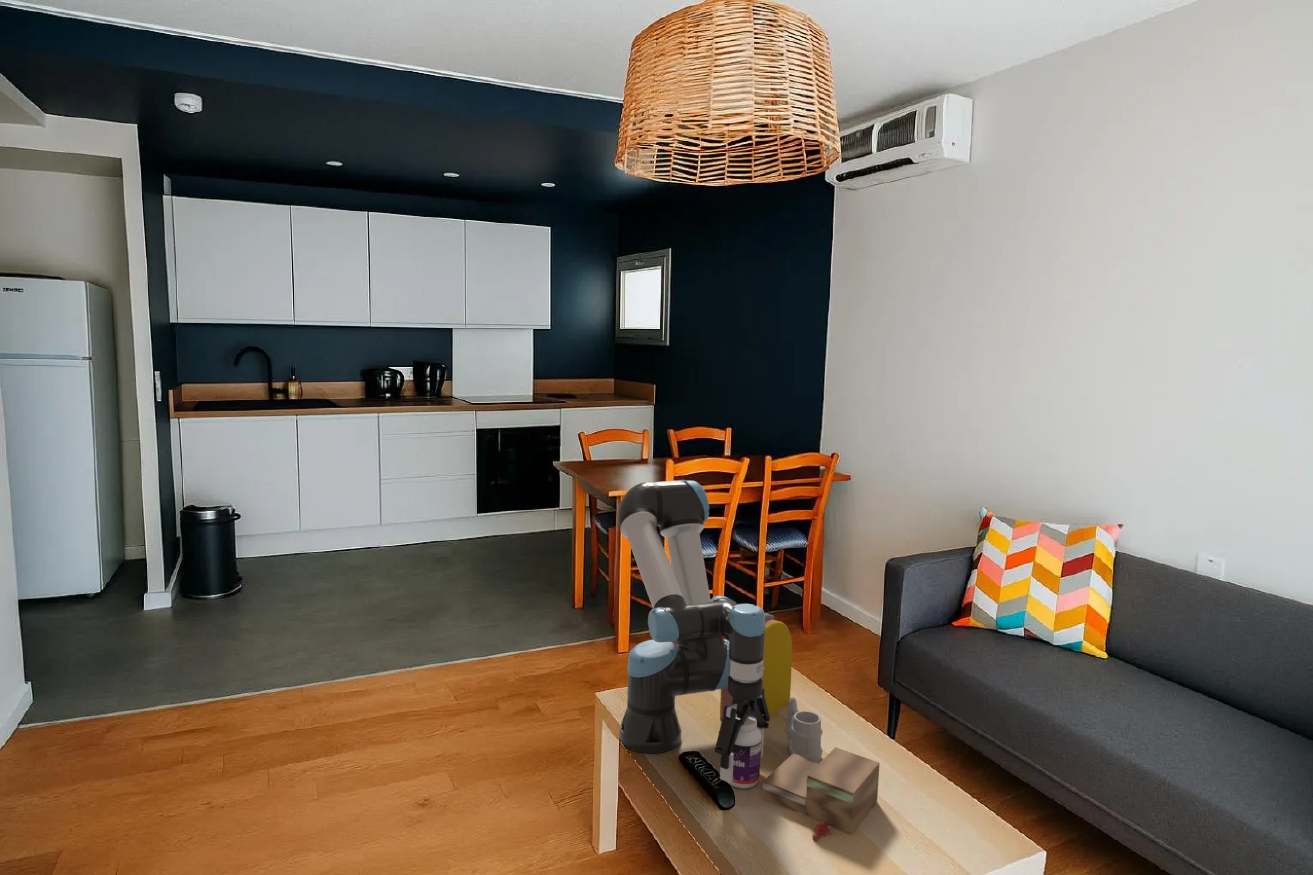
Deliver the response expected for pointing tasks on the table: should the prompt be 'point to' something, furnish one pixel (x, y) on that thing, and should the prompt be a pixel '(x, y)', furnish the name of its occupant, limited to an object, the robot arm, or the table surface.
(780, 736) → the table surface
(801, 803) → the step stand
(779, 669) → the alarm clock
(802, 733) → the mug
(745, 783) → the pill bottle
